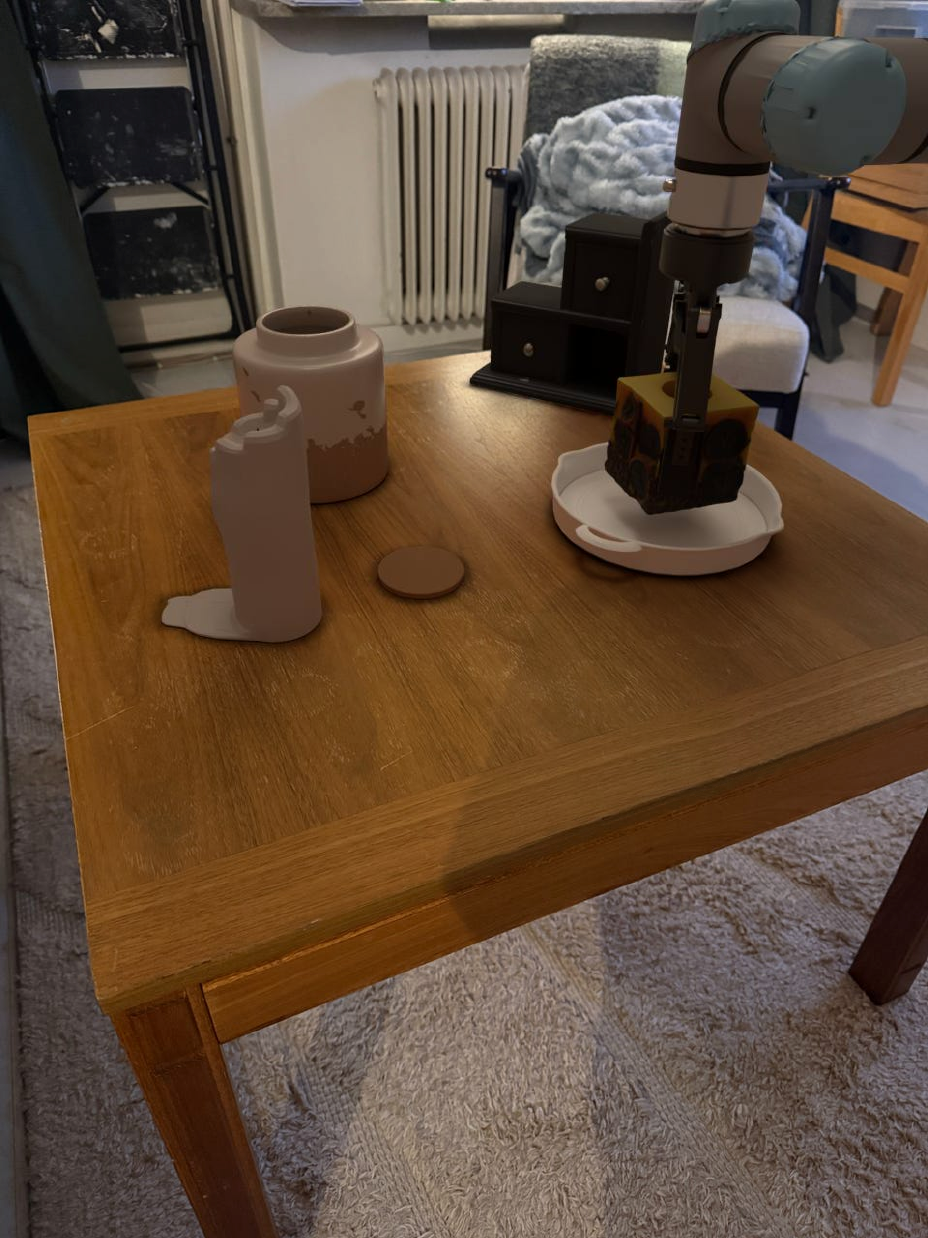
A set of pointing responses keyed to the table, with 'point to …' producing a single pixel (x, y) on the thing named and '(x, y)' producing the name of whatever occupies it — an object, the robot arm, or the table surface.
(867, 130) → the robot arm
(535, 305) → the black mini drawer cabinet
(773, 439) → the table surface
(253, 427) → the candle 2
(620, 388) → the candle
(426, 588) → the coaster
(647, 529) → the pan
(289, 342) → the vase
